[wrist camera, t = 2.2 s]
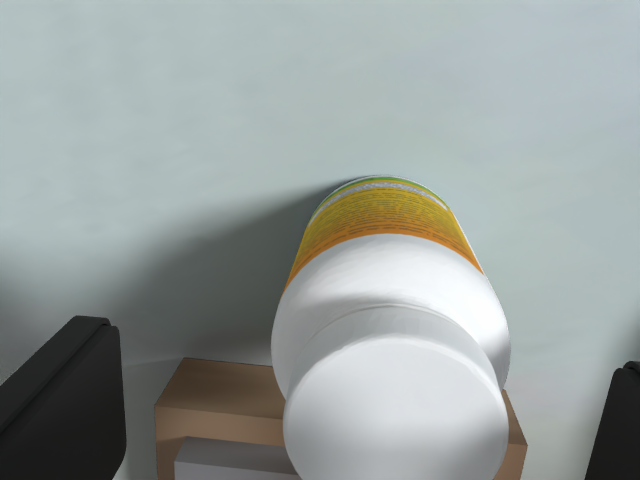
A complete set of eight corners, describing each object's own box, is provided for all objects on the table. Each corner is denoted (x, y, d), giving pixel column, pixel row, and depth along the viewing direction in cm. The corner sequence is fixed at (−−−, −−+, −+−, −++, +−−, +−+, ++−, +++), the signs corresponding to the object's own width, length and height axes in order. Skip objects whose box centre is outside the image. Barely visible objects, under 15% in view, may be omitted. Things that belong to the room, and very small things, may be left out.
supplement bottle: (274, 217, 19) (183, 375, 10) (419, 142, 17) (473, 241, 8) (348, 343, 20) (330, 588, 11) (487, 282, 19) (600, 500, 10)
